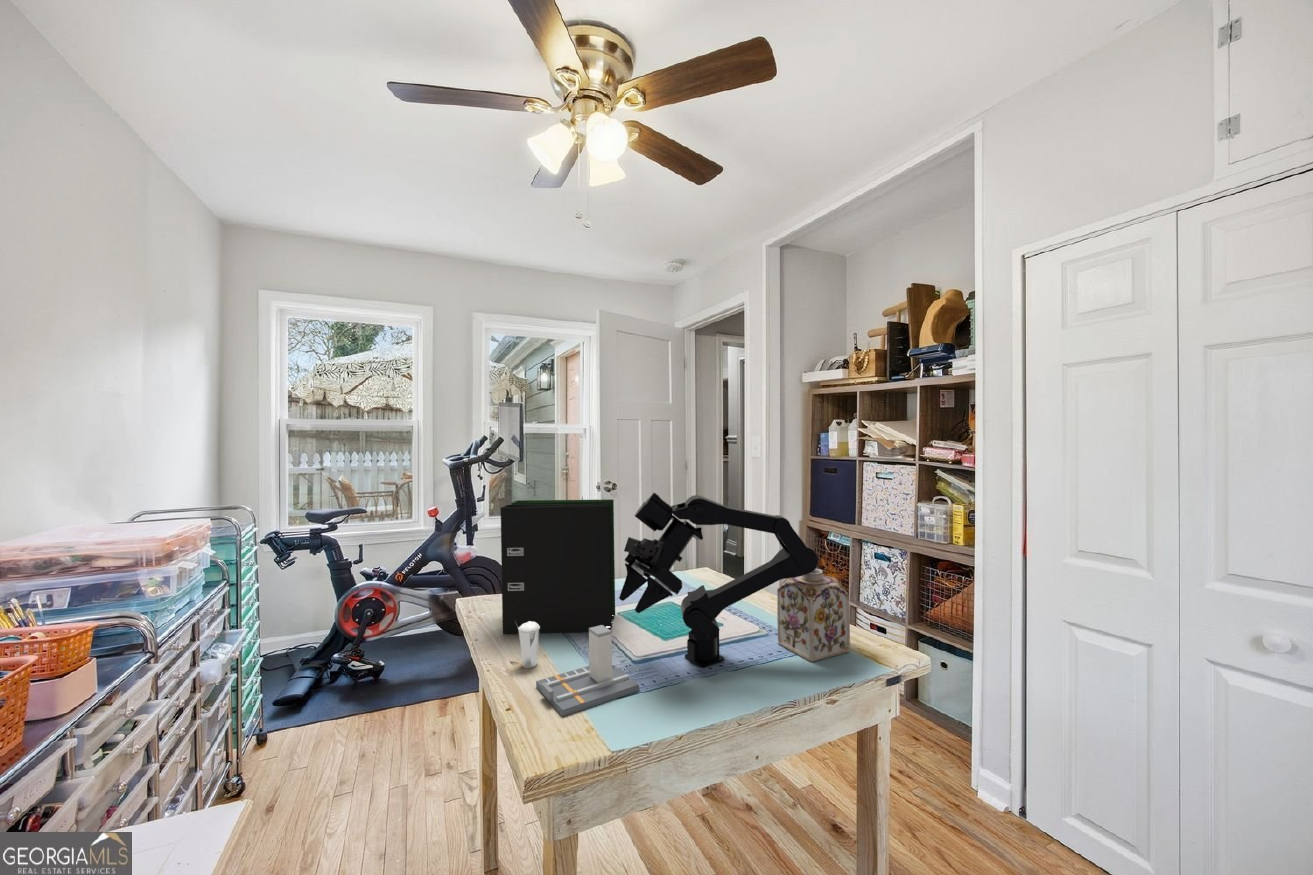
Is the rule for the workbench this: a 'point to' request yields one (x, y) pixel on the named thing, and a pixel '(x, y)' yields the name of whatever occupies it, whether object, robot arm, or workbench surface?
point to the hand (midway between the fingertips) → (628, 605)
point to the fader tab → (600, 653)
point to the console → (584, 689)
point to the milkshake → (529, 643)
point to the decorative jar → (813, 616)
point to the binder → (558, 565)
